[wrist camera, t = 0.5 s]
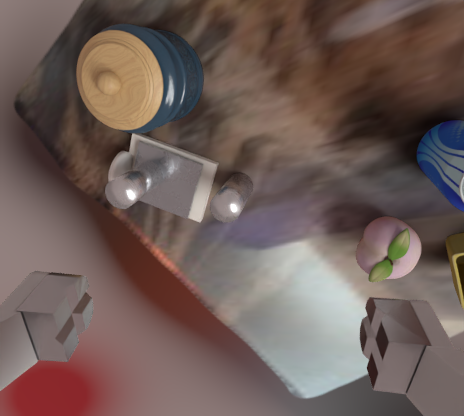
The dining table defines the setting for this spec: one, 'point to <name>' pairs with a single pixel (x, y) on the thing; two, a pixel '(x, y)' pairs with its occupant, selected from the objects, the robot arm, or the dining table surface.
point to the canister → (138, 77)
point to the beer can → (445, 159)
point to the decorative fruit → (388, 249)
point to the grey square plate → (171, 179)
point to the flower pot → (457, 263)
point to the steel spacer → (231, 198)
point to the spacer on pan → (133, 184)
